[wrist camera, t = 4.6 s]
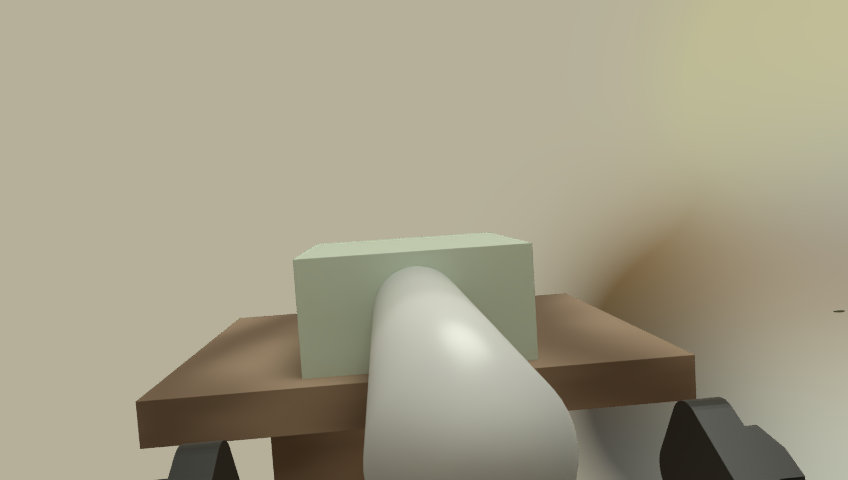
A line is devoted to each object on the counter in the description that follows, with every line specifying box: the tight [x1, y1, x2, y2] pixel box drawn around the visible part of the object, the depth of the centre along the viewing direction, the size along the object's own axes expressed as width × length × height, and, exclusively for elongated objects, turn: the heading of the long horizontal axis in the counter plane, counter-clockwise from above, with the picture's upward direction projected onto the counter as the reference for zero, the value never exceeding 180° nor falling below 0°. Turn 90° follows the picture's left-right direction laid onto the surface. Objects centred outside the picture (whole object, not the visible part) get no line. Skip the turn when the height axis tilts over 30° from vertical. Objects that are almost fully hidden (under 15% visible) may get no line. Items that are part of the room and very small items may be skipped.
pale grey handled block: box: [293, 232, 578, 480], centre depth 18 cm, size 8×20×4 cm, turn 4°
